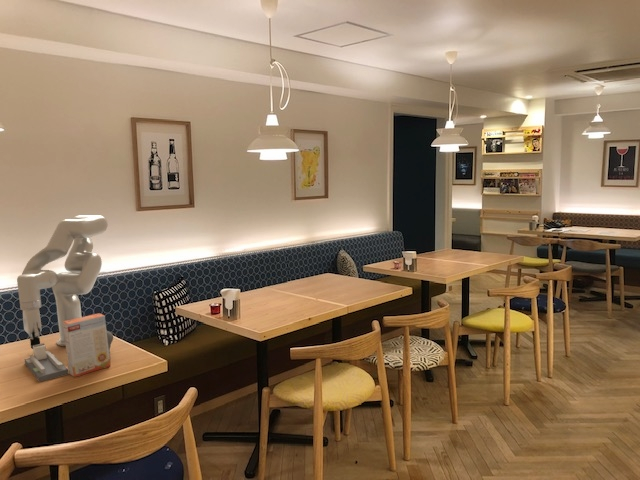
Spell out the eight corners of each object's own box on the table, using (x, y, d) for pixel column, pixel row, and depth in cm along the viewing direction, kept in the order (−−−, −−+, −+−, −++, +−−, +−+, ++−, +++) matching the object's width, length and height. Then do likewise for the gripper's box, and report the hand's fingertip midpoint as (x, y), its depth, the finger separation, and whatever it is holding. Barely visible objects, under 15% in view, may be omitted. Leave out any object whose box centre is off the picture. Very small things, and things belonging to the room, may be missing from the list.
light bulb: (96, 356, 217) (93, 333, 216) (104, 351, 223) (102, 328, 222) (109, 357, 216) (107, 333, 215) (117, 351, 222) (115, 329, 221)
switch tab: (44, 355, 214) (42, 341, 214) (47, 358, 211) (45, 344, 211) (34, 358, 212) (32, 344, 211) (36, 360, 209) (34, 346, 208)
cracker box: (105, 363, 210) (99, 312, 207) (111, 367, 206) (105, 315, 203) (68, 373, 201) (62, 320, 198) (73, 377, 197) (67, 323, 193)
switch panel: (52, 357, 218) (51, 348, 218) (68, 374, 200) (67, 364, 200) (25, 364, 212) (24, 354, 211) (39, 381, 194) (38, 372, 193)
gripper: (16, 302, 217) (21, 345, 219) (24, 309, 205) (29, 354, 208) (36, 299, 221) (41, 341, 224) (45, 306, 210) (50, 350, 213)
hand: (35, 347), depth 216 cm, fingers closed
